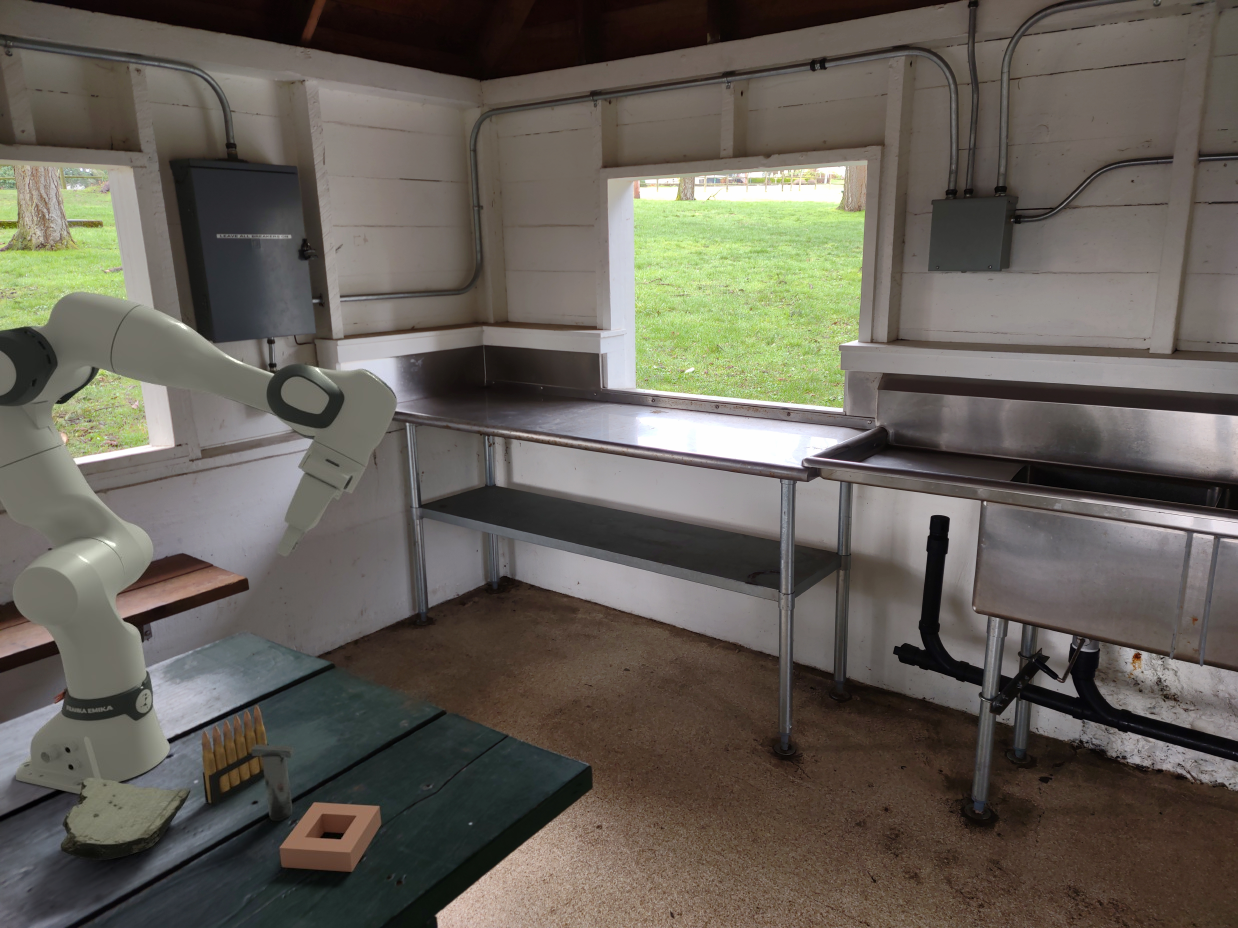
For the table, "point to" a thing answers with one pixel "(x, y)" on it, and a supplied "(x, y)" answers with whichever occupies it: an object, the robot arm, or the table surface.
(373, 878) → the table surface
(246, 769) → the ammunition clip
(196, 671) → the table surface
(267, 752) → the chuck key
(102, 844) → the concrete fragment
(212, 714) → the table surface
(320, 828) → the orange square frame
